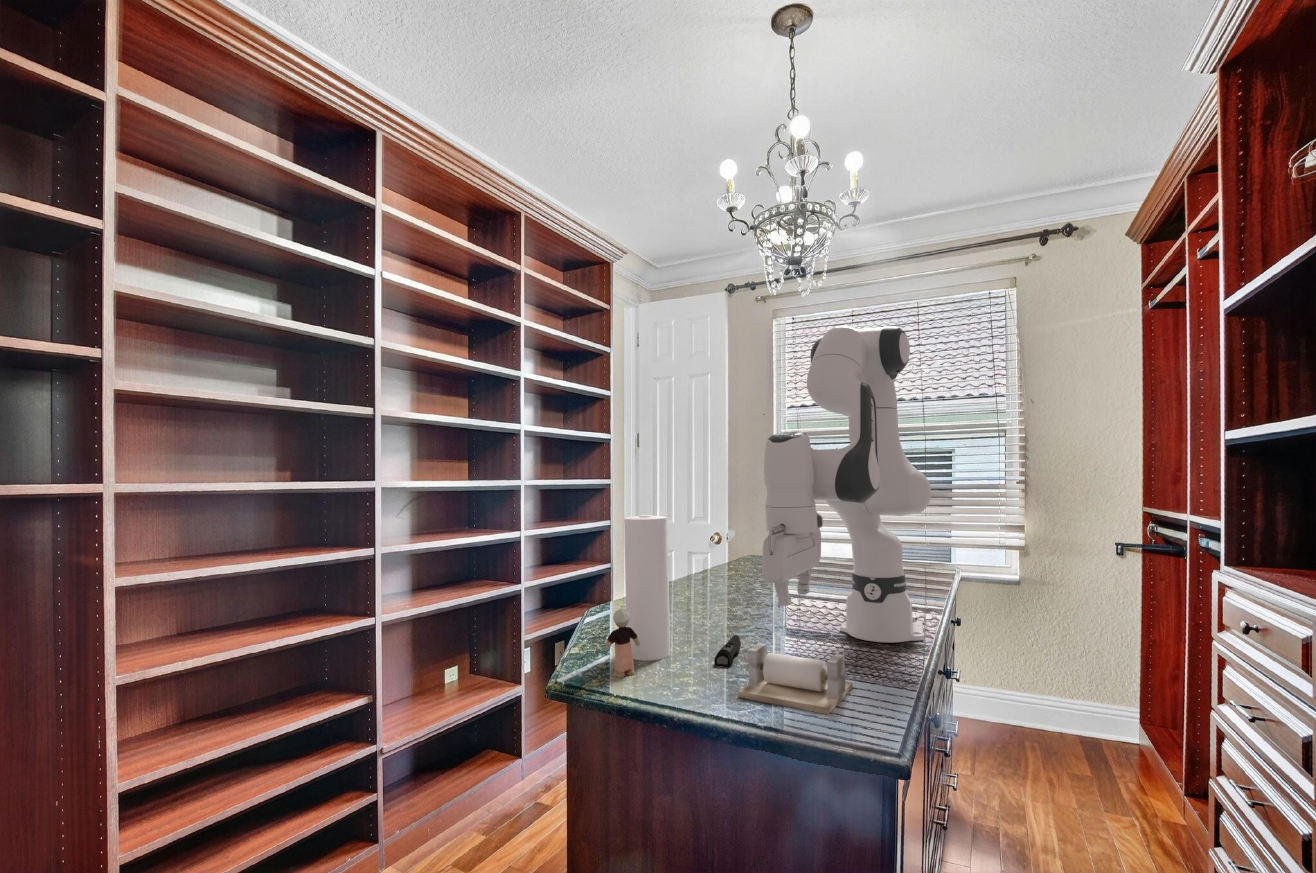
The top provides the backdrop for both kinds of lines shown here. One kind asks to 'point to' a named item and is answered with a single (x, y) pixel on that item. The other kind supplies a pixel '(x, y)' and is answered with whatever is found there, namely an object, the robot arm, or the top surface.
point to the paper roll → (795, 672)
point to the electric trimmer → (728, 652)
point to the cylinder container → (647, 585)
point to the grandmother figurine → (622, 644)
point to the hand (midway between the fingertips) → (794, 599)
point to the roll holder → (792, 695)
